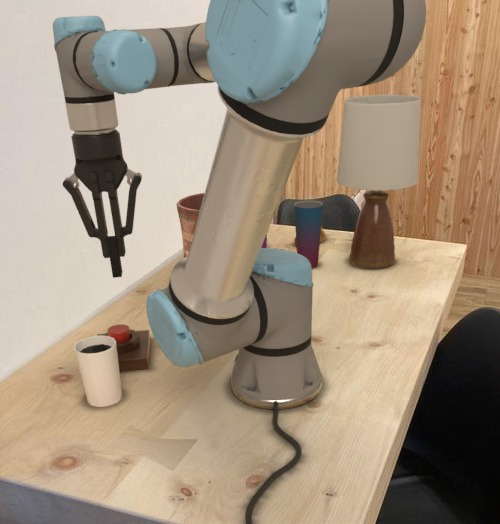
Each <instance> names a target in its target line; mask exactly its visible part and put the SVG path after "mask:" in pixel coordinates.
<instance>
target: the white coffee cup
mask: <svg viewBox="0 0 500 524" xmlns="http://www.w3.org/2000/svg"><path fill="white" fill-rule="evenodd" d="M73 350H74V354H75V358H76V361H77V366H78V369H79V373H80V377H81V381H82V385H83V390H84V393H85V397H86V402H87V403H88V405H90V406H92V407H97V408H105V407H110V406H113V405H115V404H117V403H119V402H120V401H121V400H122V398H123V391H122V382H121V373H120V372H121V371H119V363H118V354H117V346H116V341H115V339H114V338H112V337H109V336H102V335H100V336H97V335H92V336H87V337H84V338H82V339H80V340H78V341H77V342H76V343H75V344H74V346H73Z"/></svg>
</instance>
